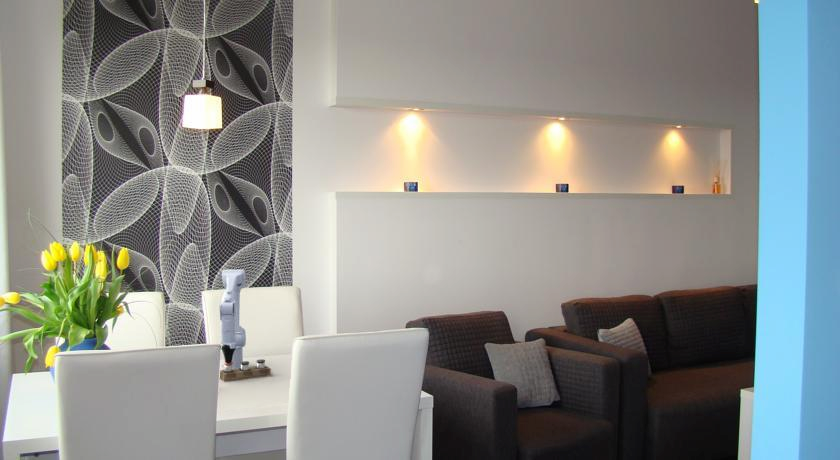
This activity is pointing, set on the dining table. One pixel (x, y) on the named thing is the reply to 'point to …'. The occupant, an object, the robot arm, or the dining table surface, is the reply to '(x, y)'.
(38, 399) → the dining table surface
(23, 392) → the dining table surface
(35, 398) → the dining table surface
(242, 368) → the plunger
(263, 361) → the plunger
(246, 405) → the dining table surface
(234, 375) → the jig
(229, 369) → the plunger red
